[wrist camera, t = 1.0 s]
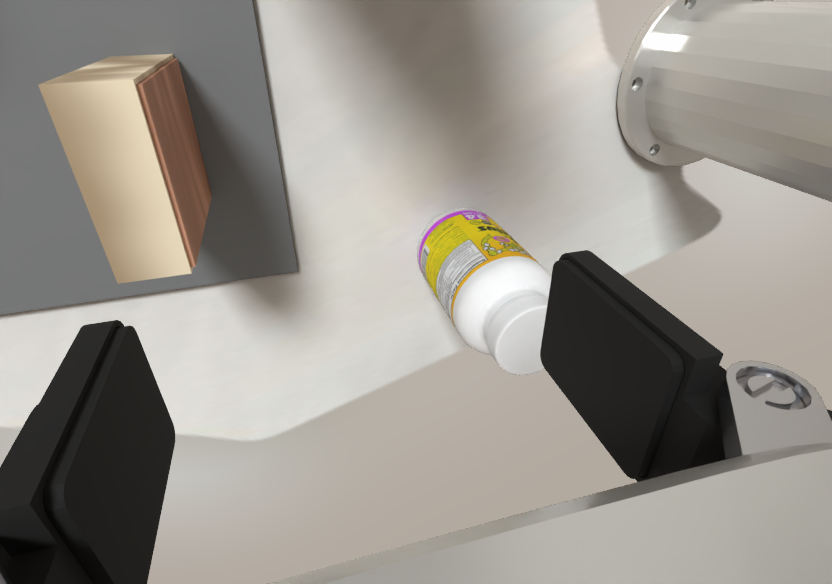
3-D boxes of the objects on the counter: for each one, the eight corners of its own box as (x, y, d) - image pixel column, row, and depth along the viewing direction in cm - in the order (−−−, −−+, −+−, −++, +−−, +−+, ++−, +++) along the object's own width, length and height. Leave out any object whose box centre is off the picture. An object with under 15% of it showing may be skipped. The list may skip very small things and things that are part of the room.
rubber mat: (237, -87, 24) (237, -88, 23) (297, 268, 34) (297, 271, 34) (-284, -96, 19) (-296, -98, 19) (-31, 315, 30) (-35, 319, 29)
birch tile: (177, 53, 25) (139, 79, 17) (213, 197, 30) (196, 272, 21) (110, 56, 25) (38, 84, 17) (157, 203, 29) (117, 283, 21)
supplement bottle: (511, 239, 38) (609, 331, 28) (452, 297, 39) (524, 406, 29) (458, 185, 34) (548, 268, 24) (396, 251, 36) (454, 357, 25)
